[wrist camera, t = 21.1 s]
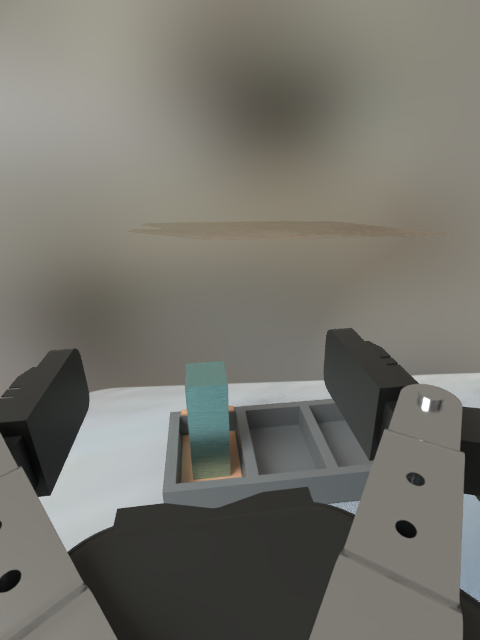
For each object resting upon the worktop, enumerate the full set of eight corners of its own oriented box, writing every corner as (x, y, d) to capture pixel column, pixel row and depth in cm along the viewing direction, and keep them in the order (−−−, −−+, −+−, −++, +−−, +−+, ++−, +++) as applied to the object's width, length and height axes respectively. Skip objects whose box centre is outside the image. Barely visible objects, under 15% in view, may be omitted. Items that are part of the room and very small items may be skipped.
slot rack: (363, 419, 43) (366, 394, 41) (413, 494, 33) (419, 464, 31) (173, 436, 40) (170, 410, 39) (166, 522, 31) (162, 491, 29)
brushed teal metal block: (227, 446, 38) (223, 361, 34) (230, 475, 34) (227, 384, 30) (192, 449, 37) (185, 363, 33) (193, 479, 34) (185, 387, 30)
